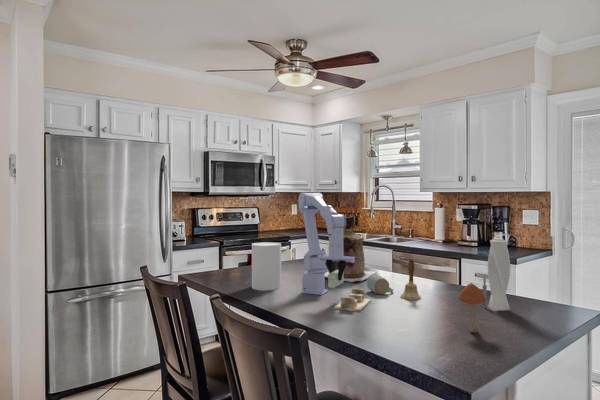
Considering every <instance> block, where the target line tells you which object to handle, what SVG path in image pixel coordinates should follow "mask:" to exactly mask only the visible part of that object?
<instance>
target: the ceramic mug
mask: <svg viewBox="0 0 600 400" xmlns="http://www.w3.org/2000/svg"><path fill="white" fill-rule="evenodd" d="M366 286H367V289H369V291H371V292H372V293H375V294H377V295H380V296H382V295H385V294H386V293H388V292H389V293H393V292H394V288H391V287H390V282H389V281H388V280H387V278H385V277H383V276H381V275H379V274H378V273H376V274H372V275H370V276H369V277H368V278H367V279H366Z"/></svg>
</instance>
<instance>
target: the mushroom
mask: <svg viewBox="0 0 600 400" xmlns="http://www.w3.org/2000/svg"><path fill="white" fill-rule="evenodd" d="M457 299H458V300H459V301H460V302H461V303H465V304H468V305H467V306H468V315H469V316H468V329H469V332H470V333H478V332H479V322H478V316H477V307H476V306H477V305H480V304H482V303H484V302H485V301H486V299H485V296H484V294H483V290H481V289H480V288H479V287H478V286H477V285H475V284H474V283H472V282H470V283H469V284H467V285H465V286H464V288H463V289H462V290H461V291H460V293H459V295H458V298H457Z"/></svg>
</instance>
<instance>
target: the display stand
mask: <svg viewBox="0 0 600 400" xmlns="http://www.w3.org/2000/svg"><path fill="white" fill-rule="evenodd" d="M371 300H372V298H371V299H370V298H365V289H362V288H355V287H354V288H353V287H352V288H351V292H350V293H349V294H348V296H340V302H338V303H337V304H336V305H334V306H333V309H334V310H341V311H348V310H349V311H348V312H357V311H358V312H360V313H361V312H362V311H363V310H364V309H365V308H366V307H367V306H368V305H369V304H370V303H371V302H372V301H371ZM367 304H368V305H367ZM366 305H367V306H366ZM365 306H366V307H365Z"/></svg>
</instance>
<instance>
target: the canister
mask: <svg viewBox="0 0 600 400" xmlns="http://www.w3.org/2000/svg"><path fill="white" fill-rule="evenodd" d="M281 288H282V243H281V242H273V241H270V242H269V241H263V242H262V241H261V242H254V243H253V242H252V243H251V289H253V290H255V291H256V290H257V291H268V292H269V291H275V290H279V289H281Z"/></svg>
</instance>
